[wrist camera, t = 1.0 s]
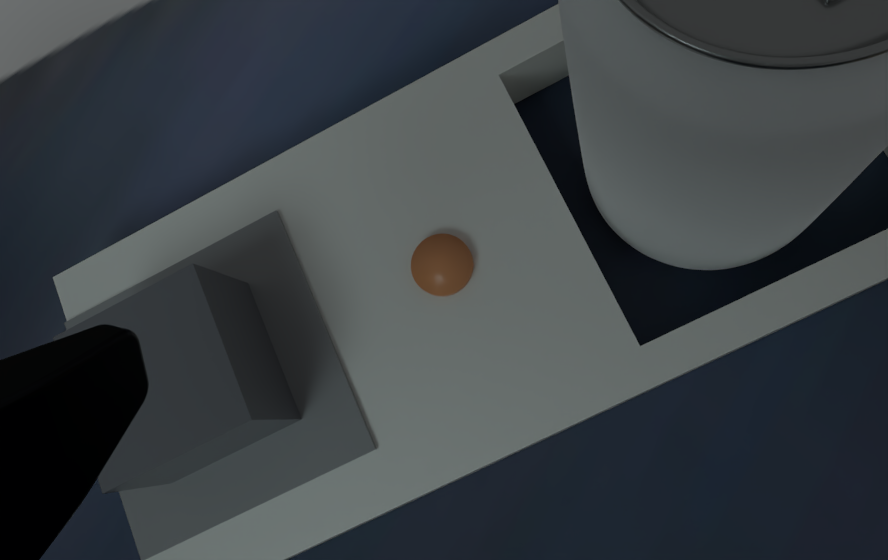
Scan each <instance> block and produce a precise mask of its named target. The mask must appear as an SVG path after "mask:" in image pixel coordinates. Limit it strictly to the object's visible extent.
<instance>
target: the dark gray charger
mask: <svg viewBox="0 0 888 560" xmlns="http://www.w3.org/2000/svg"><path fill="white" fill-rule="evenodd" d="M101 324H109V325H113V326H117V327H121V328H125V329H129V330H131V331H133V332H135V334H136V335H137V336H138V338H139V341H140V345H141V349H142V354H143V358H144V362H145V367H146V371H147V375H148V380H149V388H148V393H147V396H146V399H145V401H144V403H143V405H142V406H141V408H140V409H139V411H138V413H137V414H136V416H135V418H134V419H133V421H132V422H131V424H130V426H129V427H128V429H127V431H126V432H125V434H124V436H123V437H122V439H121V440H120V442H119V444H118V445H117V447H116V449H115V450H114V452H113V453H112V455H111V457H110V458H109V460H108V462H107V463H106V465H105V467H104V468H103V470H102V471H101V473H100V475H99V476H98V481H99V484H100V487H101V490H102V494H104V493H111V492H118V491H125V490H131V489H138V488H145V487H151V486H158V485H165V484H171V483H173V482H175V481H177V480H179V479H182V478H184V477H186V476H188V475H190V474H192V473H194V472H196V471H198V470H200V469H202V468H204V467H206V466H208V465H210V464H212V463H214V462H216V461H218V460H220V459H222V458H224V457H226V456H228V455H230V454H232V453H234V452H237V451H239V450H241V449H243V448H245V447H247V446H249V445H251V444H253V443H255V442H257V441H259V440H261V439H263V438H265V437H267V436H269V435H271V434H273V433H275V432H277V431H279V430H281V429H283V428H285V427H287V426H290V425H292V424H294V423H296V422H298V421H300V420H302V419H301V416H300V413H299V411H298V408H297V406H296V403H295V401H294V398H293V396H292V393H291V391H290V388H289V386H288V383H287V380H286V378H285V375H284V373H283V370H282V368H281V365H280V363H279V360H278V358H277V355H276V353H275V350H274V347H273V345H272V342H271V340H270V337H269V335H268V332H267V330H266V327H265V325H264V322H263V320H262V317H261V314H260V312H259V309H258V307H257V304H256V302H255V299H254V297H253V294H252V292H251V289H250V287H249V284H248V283H247V282H244V281H241V280H238V279H235V278H233V277H230V276H227V275H224V274H221V273H219V272H216V271H213V270H210V269H207V268H205V267H202V266H199V265H196V264H193V263H192V264H190V265H189V266H187V267H185V268H183V269H181V270H179V271H177V272H175V273H173V274H172V275H170V276H168V277H166V278H164V279H162V280H160V281H158V282H156V283H155V284H153V285H151V286H149V287H147V288H145V289H143V290H141V291H139V292H138V293H136V294H134V295H132V296H130V297H128V298H126V299H124V300H122V301H121V302H119V303H117V304H115V305H113V306H111V307H109V308H107V309H105V310H104V311H102V312H100V313H98V314H96V315H94V316H92V317H90V318H88V319H87V320H85V321H83V322H81V323H79V324H77V325H75V326H73V327H71V328H70V329H68V330H66V331H64V332H62V333H60V334H58V335H56V336H55V337H53V340H54V341H55V340H58V339H61V338H64V337H67V336H69V335H72V334H75V333H78V332H81V331H83V330H86V329H89V328H92V327H94V326H97V325H101Z"/></svg>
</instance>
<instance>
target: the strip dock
mask: <svg viewBox="0 0 888 560" xmlns="http://www.w3.org/2000/svg"><path fill="white" fill-rule="evenodd" d="M567 76H569V72H568V66H567V59H566V52H565V46H564V39H563V32H562V25H561V18H560V10H559V4H557V5H555V6H553V7H551V8H549V9H548V10H546V11H544V12H542V13H540V14H538V15H537V16H535V17H533V18H531V19H529V20H527V21H525V22H524V23H522V24H520V25H518V26H516V27H514V28H512V29H511V30H509V31H507V32H505V33H503V34H501V35H500V36H498V37H496V38H494V39H492V40H490V41H488V42H487V43H485V44H483V45H481V46H479V47H477V48H476V49H474V50H472V51H470V52H468V53H466V54H464V55H463V56H461V57H459V58H457V59H455V60H453V61H452V62H450V63H448V64H446V65H444V66H442V67H440V68H439V69H437V70H435V71H433V72H431V73H429V74H428V75H426V76H424V77H422V78H420V79H418V80H416V81H415V82H413V83H411V84H409V85H407V86H405V87H403V88H402V89H400V90H398V91H396V92H394V93H392V94H391V95H389V96H387V97H385V98H383V99H381V100H379V101H378V102H376V103H374V104H372V105H370V106H368V107H367V108H365V109H363V110H361V111H359V112H357V113H355V114H354V115H352V116H350V117H348V118H346V119H344V120H343V121H341V122H339V123H337V124H335V125H333V126H331V127H330V128H328V129H326V130H324V131H322V132H320V133H318V134H317V135H315V136H313V137H311V138H309V139H307V140H306V141H304V142H302V143H300V144H298V145H296V146H294V147H293V148H291V149H289V150H287V151H285V152H283V153H282V154H280V155H278V156H276V157H274V158H272V159H270V160H269V161H267V162H265V163H263V164H261V165H259V166H258V167H256V168H254V169H252V170H250V171H248V172H246V173H245V174H243V175H241V176H239V177H237V178H235V179H233V180H232V181H230V182H228V183H226V184H224V185H222V186H221V187H219V188H217V189H215V190H213V191H211V192H209V193H208V194H206V195H204V196H202V197H200V198H198V199H197V200H195V201H193V202H191V203H189V204H187V205H185V206H184V207H182V208H180V209H178V210H176V211H174V212H173V213H171V214H169V215H167V216H165V217H163V218H161V219H160V220H158V221H156V222H154V223H152V224H150V225H148V226H147V227H145V228H143V229H141V230H139V231H137V232H136V233H134V234H132V235H130V236H128V237H126V238H124V239H123V240H121V241H119V242H117V243H115V244H113V245H112V246H110V247H108V248H106V249H104V250H102V251H100V252H99V253H97V254H95V255H93V256H91V257H89V258H88V259H86V260H84V261H82V262H80V263H78V264H76V265H75V266H73V267H71V268H69V269H67V270H65V271H63V272H62V273H60V274H58V275H56V276H54V277H53V280H54V283H55V286H56V289H57V292H58V295H59V298H60V301H61V304H62V307H63V311H64V314H65V317H66V320H67V322H65V323H64V324H65V327H66V330H68V329H70V328H71V327H73V326H75V325H77V324H79V323H81V322H83V321H85V320H87V319H88V318H90V317H92V316H94V315H96V314H98V313H100V312H102V311H104V310H105V309H107V308H109V307H111V306H113V305H115V304H117V303H119V302H121V301H122V300H124V299H126V298H128V297H130V296H132V295H134V294H136V293H138V292H139V291H141V290H143V289H145V288H147V287H149V286H151V285H153V284H155V283H156V282H158V281H160V280H162V279H164V278H166V277H168V276H170V275H172V274H173V273H175V272H177V271H179V270H181V269H183V268H185V267H187V266H189V265H190V264H192V263H193V264H196V265H199V266H202V267H205V268H207V269H210V270H213V271H216V272H219V273H221V274H224V275H227V276H230V277H233V278H235V279H238V280H241V281H244V282H247V283H248V284H249V287H250V289H251V292H252V294H253V297H254V299H255V302H256V304H257V307H258V309H259V312H260V314H261V317H262V320H263V322H264V325H265V327H266V330H267V332H268V335H269V337H270V340H271V342H272V345H273V347H274V350H275V353H276V355H277V358H278V360H279V363H280V365H281V368H282V370H283V373H284V375H285V378H286V380H287V383H288V386H289V388H290V391H291V393H292V396H293V398H294V401H295V403H296V406H297V408H298V411H299V413H300V416H301V419H302V420H300V421H298V422H296V423H294V424H292V425H290V426H287V427H285V428H283V429H281V430H279V431H277V432H275V433H273V434H271V435H269V436H267V437H265V438H263V439H261V440H259V441H257V442H255V443H253V444H251V445H249V446H247V447H245V448H243V449H241V450H239V451H237V452H234V453H232V454H230V455H228V456H226V457H224V458H222V459H220V460H218V461H216V462H214V463H212V464H210V465H208V466H206V467H204V468H202V469H200V470H198V471H196V472H194V473H192V474H190V475H188V476H186V477H184V478H182V479H179V480H177V481H175V482H173V483H171V484H165V485H158V486H151V487H145V488H138V489H131V490H125V491H119V494H120V497H121V500H122V503H123V506H124V509H125V512H126V515H127V518H128V522H129V525H130V528H131V531H132V534H133V537H134V540H135V543H136V546H137V549H138V552H139V555H140V559H141V560H287V559H289V558H292V557H294V556H296V555H298V554H300V553H302V552H304V551H307V550H309V549H311V548H313V547H315V546H317V545H319V544H322V543H324V542H326V541H328V540H330V539H332V538H335V537H337V536H339V535H341V534H343V533H345V532H347V531H350V530H352V529H354V528H356V527H358V526H360V525H362V524H365V523H367V522H369V521H371V520H373V519H375V518H377V517H380V516H382V515H384V514H386V513H388V512H390V511H392V510H395V509H397V508H399V507H401V506H403V505H405V504H407V503H410V502H412V501H414V500H416V499H418V498H420V497H422V496H425V495H427V494H429V493H431V492H433V491H435V490H437V489H440V488H442V487H444V486H446V485H448V484H450V483H452V482H455V481H457V480H459V479H461V478H463V477H465V476H467V475H470V474H472V473H474V472H476V471H478V470H480V469H482V468H485V467H487V466H489V465H491V464H493V463H495V462H497V461H500V460H502V459H504V458H506V457H508V456H510V455H512V454H515V453H517V452H519V451H521V450H523V449H525V448H527V447H530V446H532V445H534V444H536V443H538V442H540V441H542V440H545V439H547V438H549V437H551V436H553V435H555V434H557V433H560V432H562V431H564V430H566V429H568V428H570V427H572V426H575V425H577V424H579V423H581V422H583V421H585V420H587V419H590V418H592V417H594V416H596V415H598V414H600V413H602V412H605V411H607V410H609V409H611V408H613V407H615V406H618V405H620V404H622V403H624V402H626V401H628V400H630V399H633V398H635V397H637V396H639V395H641V394H643V393H645V392H648V391H650V390H652V389H654V388H656V387H658V386H660V385H663V384H665V383H667V382H669V381H671V380H673V379H675V378H678V377H680V376H682V375H684V374H686V373H688V372H690V371H693V370H695V369H697V368H699V367H701V366H703V365H705V364H708V363H710V362H712V361H714V360H716V359H718V358H720V357H723V356H725V355H727V354H729V353H731V352H733V351H735V350H738V349H740V348H742V347H744V346H746V345H748V344H750V343H753V342H755V341H757V340H759V339H761V338H763V337H765V336H768V335H770V334H772V333H774V332H776V331H778V330H780V329H783V328H785V327H787V326H789V325H791V324H793V323H795V322H798V321H800V320H802V319H804V318H806V317H808V316H810V315H813V314H815V313H817V312H819V311H821V310H823V309H825V308H828V307H830V306H832V305H834V304H836V303H838V302H840V301H843V300H845V299H847V298H849V297H851V296H853V295H855V294H858V293H860V292H862V291H864V290H866V289H868V288H870V287H873V286H875V285H877V284H879V283H881V282H883V281H885V280H888V229H886V230H884V231H882V232H880V233H878V234H876V235H873V236H871V237H869V238H867V239H865V240H863V241H861V242H859V243H857V244H854V245H852V246H850V247H848V248H846V249H844V250H842V251H840V252H838V253H836V254H833V255H831V256H829V257H827V258H825V259H823V260H821V261H819V262H817V263H814V264H812V265H810V266H808V267H806V268H804V269H802V270H800V271H798V272H795V273H793V274H791V275H789V276H787V277H785V278H783V279H781V280H779V281H777V282H774V283H772V284H770V285H768V286H766V287H764V288H762V289H760V290H758V291H755V292H753V293H751V294H749V295H747V296H745V297H743V298H741V299H739V300H737V301H734V302H732V303H730V304H728V305H726V306H724V307H722V308H720V309H718V310H715V311H713V312H711V313H709V314H707V315H705V316H703V317H701V318H699V319H697V320H694V321H692V322H690V323H688V324H686V325H684V326H682V327H680V328H678V329H675V330H673V331H671V332H669V333H667V334H665V335H663V336H661V337H659V338H656V339H654V340H652V341H650V342H648V343H646V344H644V345H642V346H640V345H639V343H638V341H637V339H636V337H635V335H634V333H633V332H632V330H631V328H630V326H629V324H628V322H627V320H626V318H625V316H624V314H623V312H622V310H621V309H620V307H619V305H618V303H617V301H616V299H615V297H614V295H613V293H612V291H611V289H610V287H609V286H608V284H607V282H606V280H605V278H604V276H603V274H602V272H601V270H600V268H599V266H598V264H597V263H596V261H595V259H594V257H593V255H592V253H591V251H590V249H589V247H588V245H587V243H586V241H585V240H584V238H583V236H582V234H581V232H580V230H579V228H578V226H577V224H576V222H575V220H574V218H573V217H572V215H571V213H570V211H569V209H568V207H567V205H566V203H565V201H564V199H563V197H562V195H561V194H560V192H559V190H558V188H557V186H556V184H555V182H554V180H553V178H552V176H551V174H550V172H549V171H548V169H547V167H546V165H545V163H544V161H543V159H542V157H541V155H540V153H539V151H538V149H537V148H536V146H535V144H534V142H533V140H532V138H531V136H530V134H529V132H528V130H527V128H526V126H525V125H524V123H523V121H522V119H521V117H520V115H519V113H518V111H517V109H516V107H515V105H514V104H516V103H517V102H519V101H521V100H523V99H525V98H527V97H529V96H531V95H533V94H535V93H536V92H538V91H540V90H542V89H544V88H546V87H548V86H550V85H552V84H553V83H555V82H557V81H559V80H561V79H563V78H565V77H567ZM883 151H884V152H885V154H886V156H887V157H888V146H887V147H886V148H885V149H884V150H883Z"/></svg>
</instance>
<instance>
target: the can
mask: <svg viewBox="0 0 888 560" xmlns="http://www.w3.org/2000/svg"><path fill="white" fill-rule="evenodd" d="M558 3H559V10H560V18H561V25H562V32H563V39H564V46H565V52H566V59H567V66H568V72H569V79H570V85H571V92H572V98H573V105H574V111H575V117H576V124H577V130H578V136H579V142H580V148H581V154H582V160H583V165H584V171H585V175H586V180H587V183H588V187H589V190H590V193H591V196H592V198H593V200H594V202H595V204H596V206H597V208H598V210H599V212H600V213H601V215H602V217H603V218H604V219H605V221H606V222H607V224H608V225H609V226H610V227H611V228H612V230H613V231H614V232H615V233H616V234H617V235H618V236H619V237H620V238H622V239H623V240H624V241H625V242H626V243H628V244H629V245H630V246H632V247H633V248H634V249H636V250H638V251H639V252H641V253H643V254H644V255H646V256H648V257H650V258H652V259H655V260H657V261H660V262H662V263H665V264H668V265H672V266H676V267H680V268H686V269H694V270H720V269H728V268H734V267H738V266H742V265H746V264H749V263H752V262H755V261H757V260H760V259H762V258H764V257H767V256H769V255H771V254H772V253H774V252H776V251H778V250H779V249H781V248H782V247H784V246H785V245H787V244H788V243H790V242H791V241H792V240H793V239H795V238H796V237H797V236H798V235H799V234H800V233H801V232H803V231H804V230H805V229H806V228H807V227H808V226H809V225H810V224H811V223H812V222H813V221H814V220H815V219H816V218H817V217H818V216H819V215H820V214H821V213H822V212H823V211H824V210H825V209H826V208H827V207H828V206H829V205H830V204H831V203H832V202H833V201H834V200H835V199H836V198H837V197H838V196H839V195H840V194H841V193H842V192H843V191H844V190H845V189H846V188H847V187H848V186H849V185H850V184H851V183H852V182H853V181H854V180H855V179H856V178H857V177H858V176H859V175H860V174H861V173H862V171H863V170H864V169H865V168H866V167H867V166H868V165H869V164H870V163H871V162H872V161H873V160H874V159H875V158H876V157H877V156H878V155H879V154H880V153H881V152H882V151H883V150H884V149H885V148H886V147H887V146H888V0H558Z"/></svg>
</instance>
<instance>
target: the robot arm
mask: <svg viewBox="0 0 888 560" xmlns="http://www.w3.org/2000/svg"><path fill="white" fill-rule="evenodd" d="M148 388H149V380H148V375H147V371H146V367H145V362H144V358H143V354H142V349H141V345H140V341H139V338H138V336H137V335H136V334H135V332H133V331H131V330H129V329H125V328H121V327H117V326H113V325H109V324H101V325H97V326H94V327H92V328H89V329H86V330H83V331H81V332H78V333H75V334H72V335H69V336H67V337H64V338H61V339H58V340H55V341H53V342H50V343H47V344H44V345H41V346H39V347H36V348H33V349H30V350H28V351H25V352H22V353H19V354H16V355H14V356H11V357H8V358H5V359H2V360H0V560H39V559H40V558H41V557H42V555H43V554H44V553H45V551H46V550H47V549H48V547H49V546H50V545H51V543H52V542H53V541H54V539H55V538H56V537H57V536H58V534H59V533H60V532H61V530H62V529H63V528H64V526H65V525H66V524H67V522H68V521H69V520H70V518H71V517H72V515H73V514H74V513H75V511H76V510H77V509H78V507H79V506H80V504H81V503H82V501H83V500H84V498H85V497H86V495H87V494H88V492H89V491H90V489H91V488H92V486H93V484H94V483H95V481H96V480H97V478H98V476H99V475H100V473H101V471H102V470H103V468H104V467H105V465H106V463H107V462H108V460H109V458H110V457H111V455H112V453H113V452H114V450H115V449H116V447H117V445H118V444H119V442H120V440H121V439H122V437H123V436H124V434H125V432H126V431H127V429H128V427H129V426H130V424H131V422H132V421H133V419H134V418H135V416H136V414H137V413H138V411H139V409H140V408H141V406H142V405H143V403H144V401H145V399H146V396H147V393H148Z"/></svg>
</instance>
